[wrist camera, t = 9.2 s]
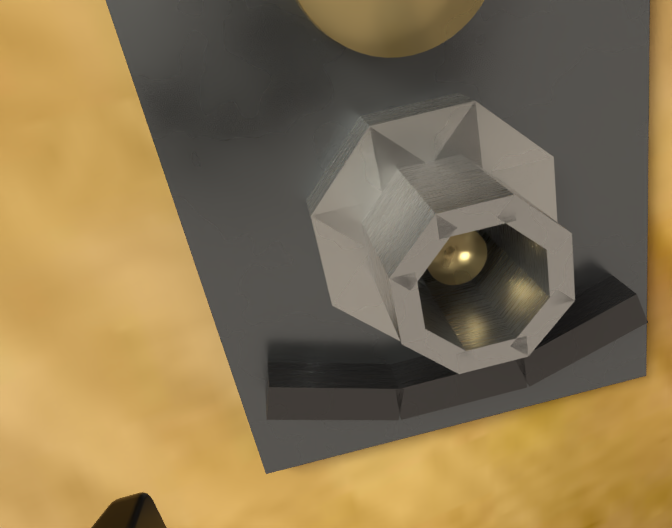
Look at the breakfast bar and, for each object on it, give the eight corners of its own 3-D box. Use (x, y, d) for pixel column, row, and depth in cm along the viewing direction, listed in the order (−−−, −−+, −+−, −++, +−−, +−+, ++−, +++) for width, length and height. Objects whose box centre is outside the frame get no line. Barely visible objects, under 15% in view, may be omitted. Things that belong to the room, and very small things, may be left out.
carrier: (623, -325, 15) (753, -433, 11) (627, 357, 23) (702, 429, 19) (48, -201, 14) (-23, -268, 11) (265, 450, 23) (268, 543, 19)
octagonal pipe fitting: (526, 76, 17) (627, 107, 13) (542, 287, 20) (628, 374, 16) (290, 132, 17) (305, 184, 12) (339, 338, 20) (367, 441, 15)
